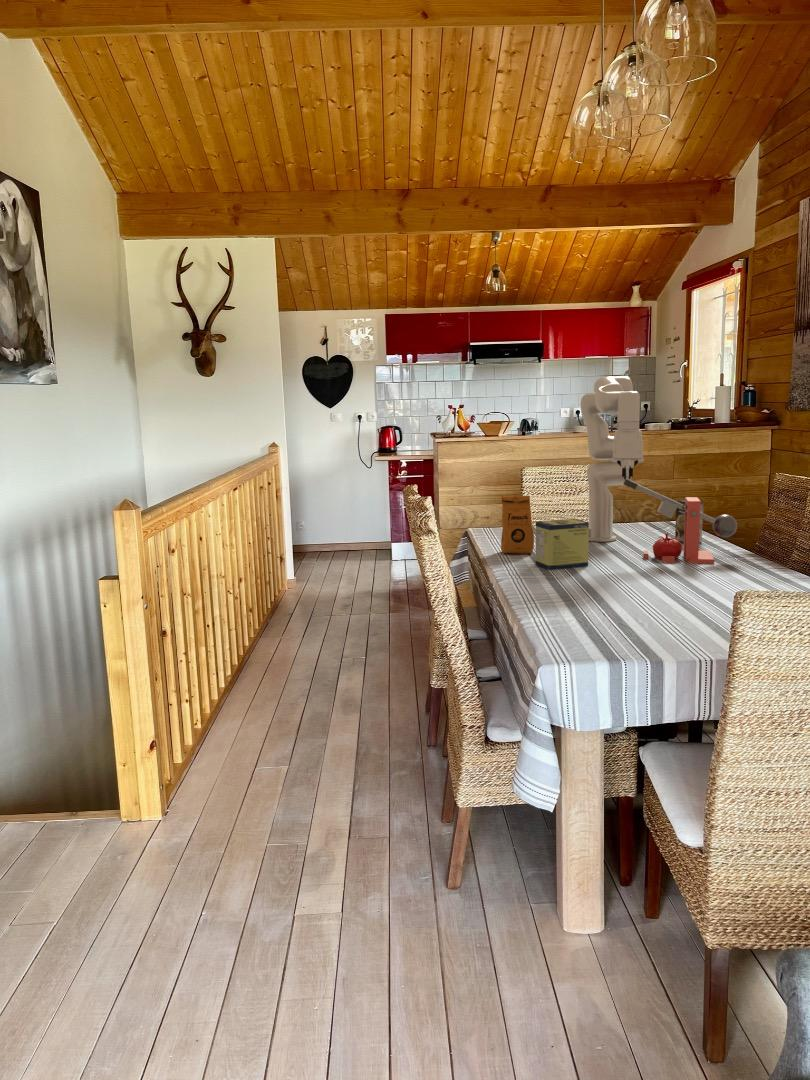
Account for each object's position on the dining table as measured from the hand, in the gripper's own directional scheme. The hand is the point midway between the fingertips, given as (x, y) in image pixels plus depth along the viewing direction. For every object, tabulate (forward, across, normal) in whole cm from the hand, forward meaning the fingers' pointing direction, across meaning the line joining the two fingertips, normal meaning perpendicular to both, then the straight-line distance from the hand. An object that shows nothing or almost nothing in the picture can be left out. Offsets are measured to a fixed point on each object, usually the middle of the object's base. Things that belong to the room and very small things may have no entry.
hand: (627, 478), depth 281 cm
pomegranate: (+29, +14, +1) cm, 32 cm away
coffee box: (+28, +24, +37) cm, 52 cm away
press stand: (+29, +18, +1) cm, 34 cm away
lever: (+14, +16, +1) cm, 21 cm away
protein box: (+29, -22, -17) cm, 40 cm away
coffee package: (+29, -40, +4) cm, 49 cm away
